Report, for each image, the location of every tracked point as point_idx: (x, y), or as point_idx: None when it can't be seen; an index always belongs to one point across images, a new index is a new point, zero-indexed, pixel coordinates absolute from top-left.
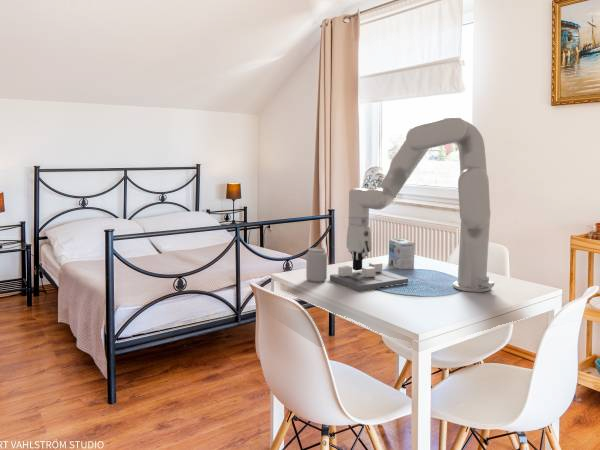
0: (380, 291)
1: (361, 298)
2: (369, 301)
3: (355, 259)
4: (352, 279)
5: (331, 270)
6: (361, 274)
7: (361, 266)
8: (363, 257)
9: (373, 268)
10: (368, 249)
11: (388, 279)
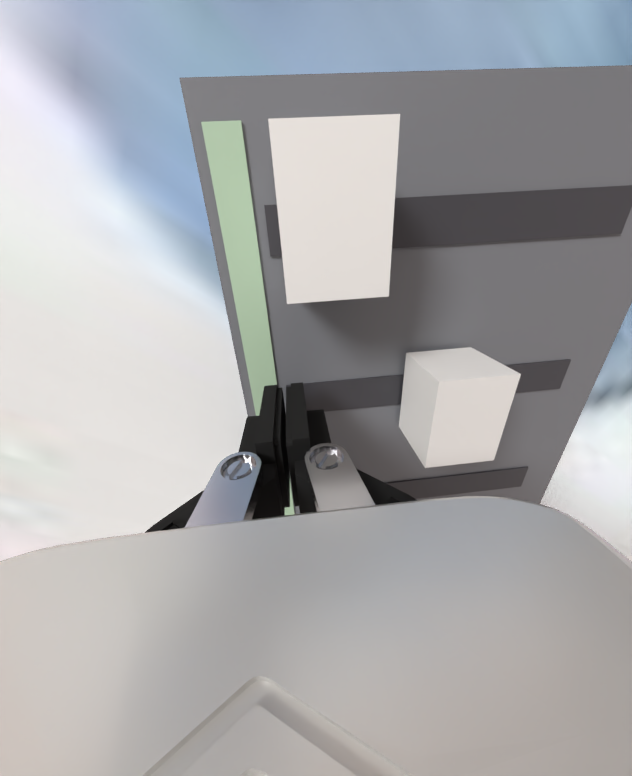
0: (590, 411)
1: (581, 515)
2: (626, 507)
3: (281, 499)
4: (427, 496)
5: (16, 438)
6: (358, 405)
7: (324, 413)
8: (351, 462)
9: (511, 397)
10: (468, 527)
11: (590, 298)
